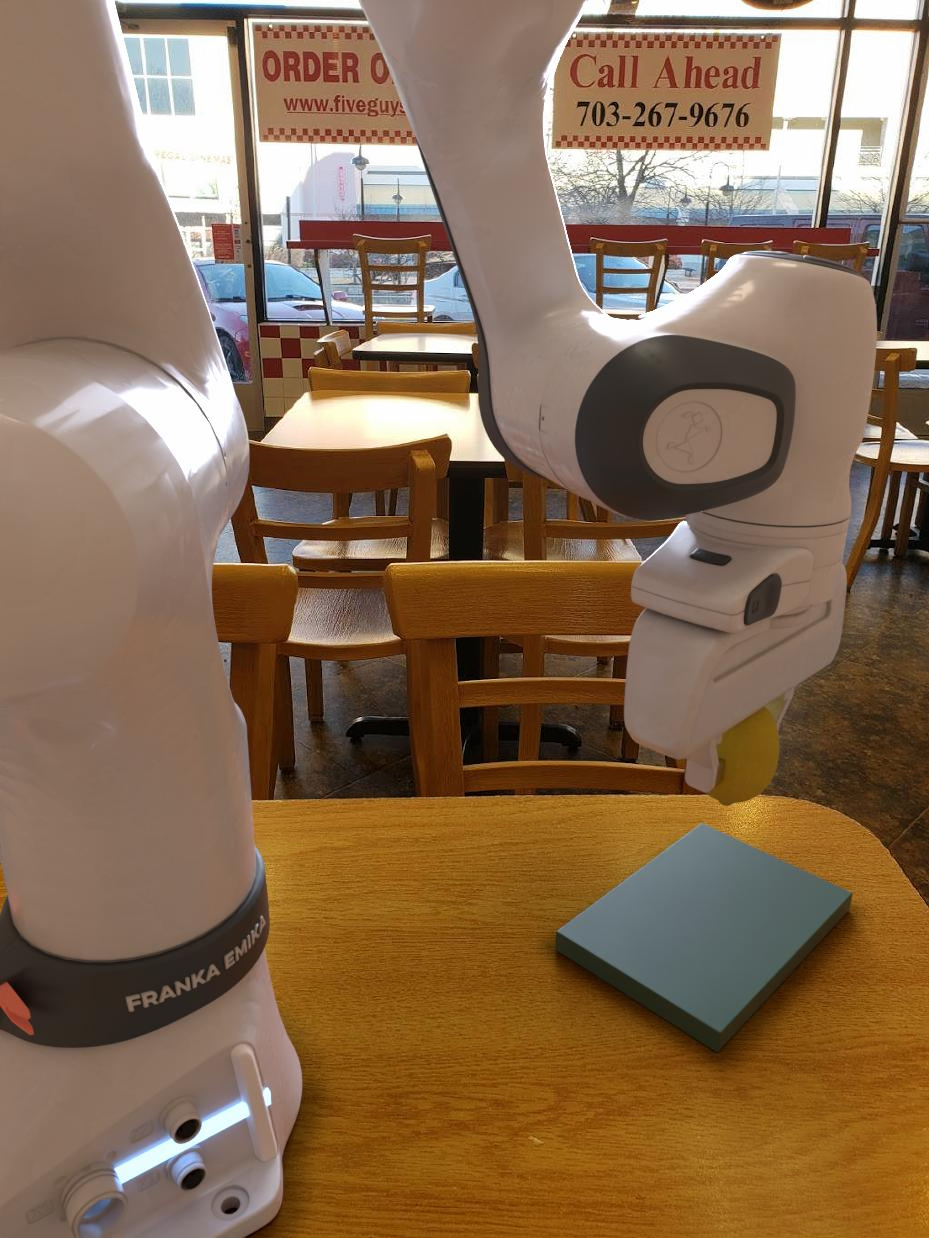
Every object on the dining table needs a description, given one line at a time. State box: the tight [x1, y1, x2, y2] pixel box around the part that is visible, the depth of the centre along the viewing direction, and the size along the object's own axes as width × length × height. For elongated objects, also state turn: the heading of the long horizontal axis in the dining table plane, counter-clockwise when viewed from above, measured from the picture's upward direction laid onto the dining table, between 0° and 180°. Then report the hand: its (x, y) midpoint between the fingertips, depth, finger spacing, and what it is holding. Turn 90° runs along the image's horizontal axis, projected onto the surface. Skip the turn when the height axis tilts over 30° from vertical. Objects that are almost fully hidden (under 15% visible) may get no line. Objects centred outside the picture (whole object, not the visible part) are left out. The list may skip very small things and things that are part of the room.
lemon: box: [703, 706, 781, 807], centre depth 59 cm, size 6×6×8 cm
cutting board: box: [554, 822, 853, 1053], centre depth 63 cm, size 18×12×2 cm, turn 136°
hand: (731, 765), depth 59 cm, fingers closed on lemon, 5 cm apart
